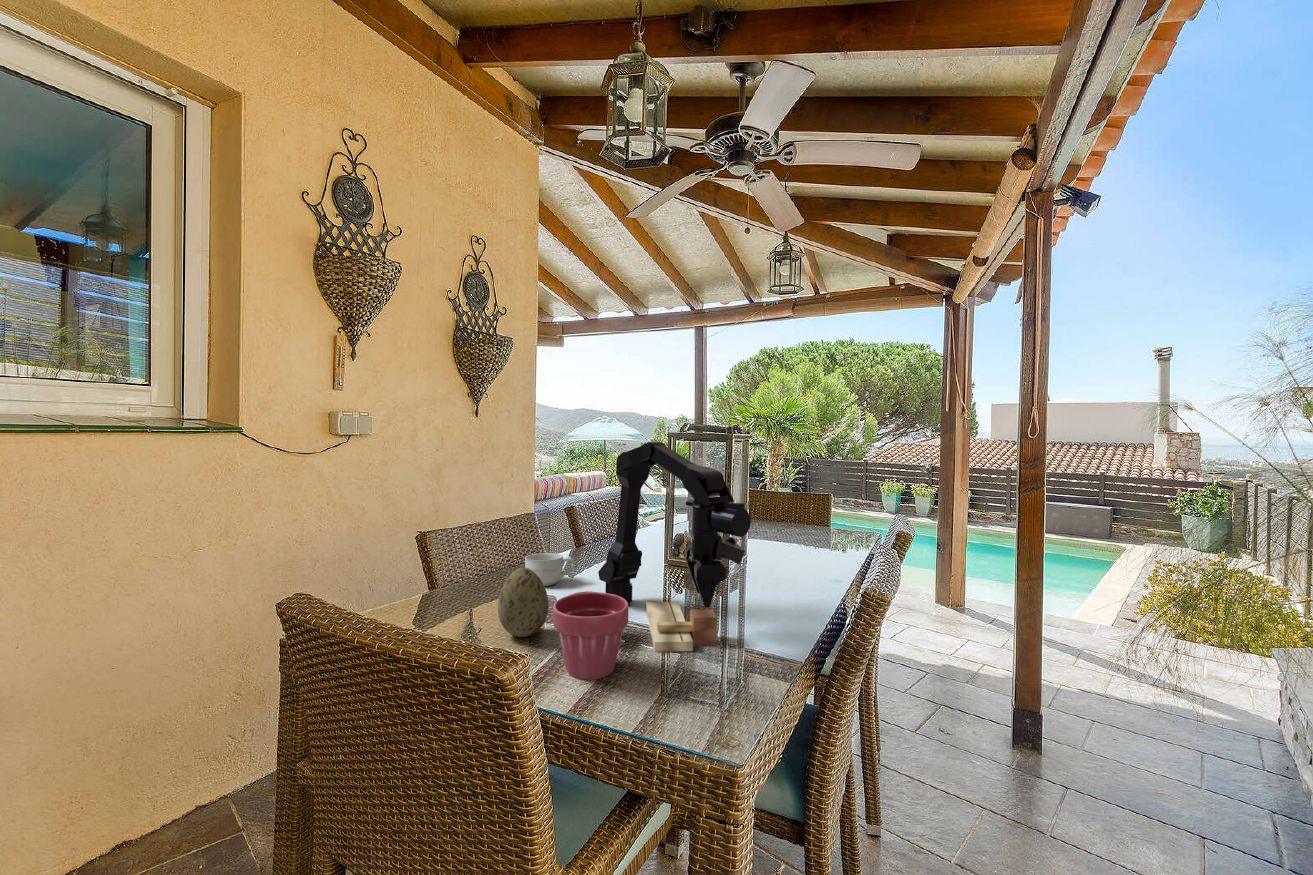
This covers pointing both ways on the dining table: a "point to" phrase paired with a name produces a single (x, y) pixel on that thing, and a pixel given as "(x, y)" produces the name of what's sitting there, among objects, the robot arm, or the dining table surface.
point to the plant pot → (590, 632)
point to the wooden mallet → (695, 627)
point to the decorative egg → (523, 603)
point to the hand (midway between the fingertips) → (703, 599)
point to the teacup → (548, 566)
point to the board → (667, 639)
